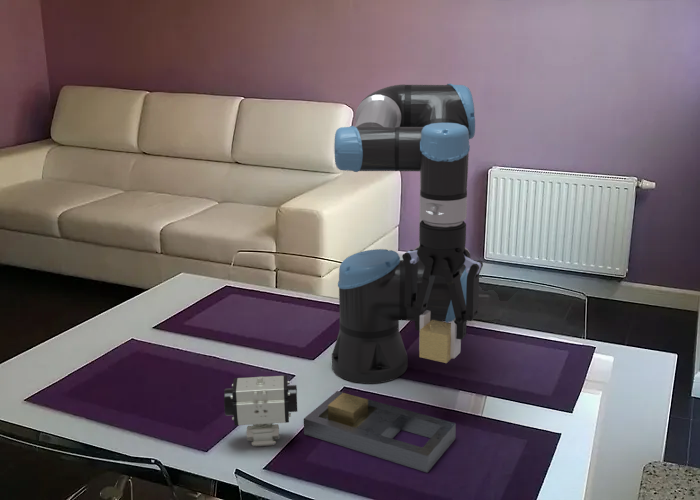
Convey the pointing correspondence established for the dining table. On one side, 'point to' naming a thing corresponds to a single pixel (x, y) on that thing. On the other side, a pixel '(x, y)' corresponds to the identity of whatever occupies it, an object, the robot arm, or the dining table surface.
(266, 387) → the pneumatic valve
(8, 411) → the dining table surface
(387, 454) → the tray
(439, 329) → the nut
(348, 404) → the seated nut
